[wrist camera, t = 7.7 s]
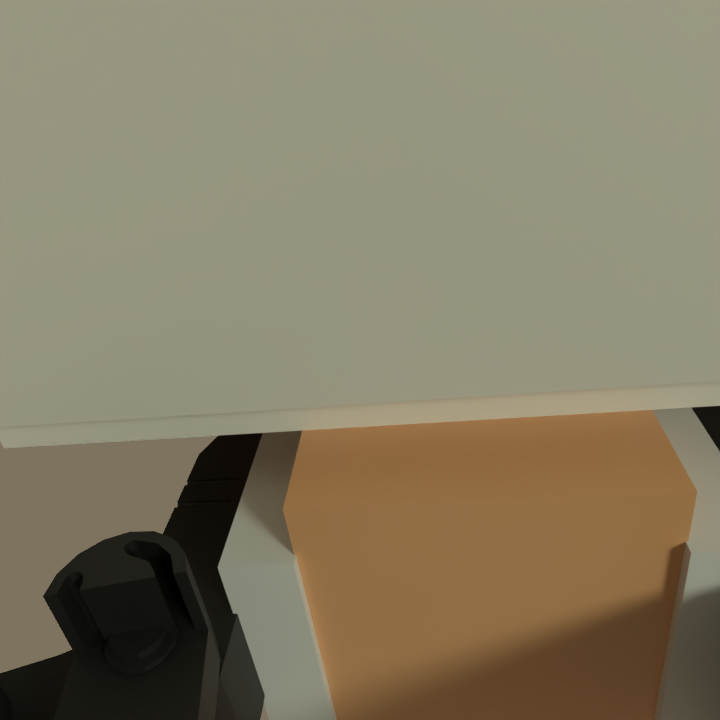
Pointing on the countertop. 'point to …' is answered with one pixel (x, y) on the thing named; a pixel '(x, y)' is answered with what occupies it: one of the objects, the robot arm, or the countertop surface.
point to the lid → (390, 306)
